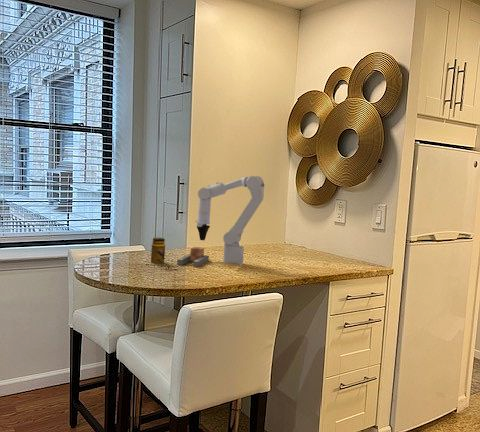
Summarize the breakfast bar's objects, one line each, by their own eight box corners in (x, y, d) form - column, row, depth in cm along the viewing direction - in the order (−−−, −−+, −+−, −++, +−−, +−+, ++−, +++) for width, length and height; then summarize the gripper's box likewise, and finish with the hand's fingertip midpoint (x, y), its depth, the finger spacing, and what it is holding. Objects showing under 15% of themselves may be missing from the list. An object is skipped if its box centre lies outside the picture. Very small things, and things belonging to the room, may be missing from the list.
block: (203, 260, 232) (204, 247, 231) (200, 261, 227) (201, 249, 226) (193, 259, 233) (194, 246, 232) (190, 260, 228) (190, 248, 227)
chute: (208, 262, 232) (208, 255, 232) (197, 268, 215) (197, 261, 214) (189, 259, 234) (189, 253, 234) (176, 266, 217) (177, 259, 216)
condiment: (164, 266, 216) (166, 239, 215) (145, 265, 214) (146, 238, 213) (165, 263, 223) (166, 237, 222) (146, 262, 222) (147, 236, 221)
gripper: (200, 210, 243) (198, 237, 244) (191, 212, 229) (190, 241, 230) (214, 211, 241) (212, 238, 243) (206, 214, 227) (204, 242, 228)
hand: (202, 240), depth 236 cm, fingers closed
